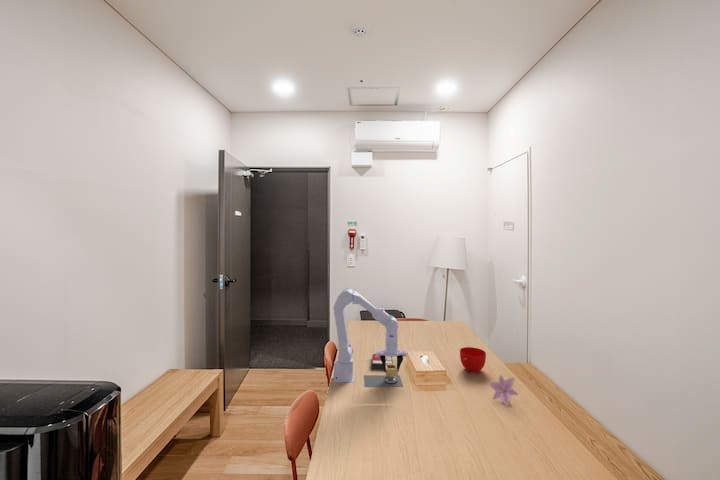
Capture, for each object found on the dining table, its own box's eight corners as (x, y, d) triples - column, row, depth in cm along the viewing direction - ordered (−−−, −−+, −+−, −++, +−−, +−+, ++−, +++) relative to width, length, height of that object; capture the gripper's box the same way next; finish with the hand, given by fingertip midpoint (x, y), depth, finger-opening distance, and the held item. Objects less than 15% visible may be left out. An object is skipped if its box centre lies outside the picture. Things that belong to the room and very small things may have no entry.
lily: (485, 393, 146) (482, 379, 142) (508, 382, 147) (505, 367, 143) (503, 415, 135) (500, 400, 131) (527, 403, 136) (524, 388, 132)
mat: (364, 388, 148) (364, 387, 148) (363, 376, 160) (363, 375, 160) (403, 387, 148) (403, 386, 148) (399, 376, 160) (399, 375, 160)
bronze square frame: (386, 375, 151) (386, 369, 151) (384, 370, 157) (384, 364, 157) (397, 375, 151) (397, 369, 151) (396, 370, 157) (396, 364, 157)
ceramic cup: (451, 372, 164) (451, 353, 164) (466, 363, 177) (466, 345, 177) (476, 381, 156) (476, 360, 155) (489, 370, 168) (490, 351, 168)
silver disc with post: (385, 384, 151) (385, 373, 151) (383, 377, 157) (383, 367, 157) (398, 383, 151) (398, 373, 151) (396, 377, 157) (396, 367, 157)
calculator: (391, 353, 181) (392, 363, 166) (391, 361, 181) (392, 371, 166) (372, 353, 182) (371, 362, 167) (372, 360, 182) (371, 370, 167)
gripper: (377, 346, 149) (376, 374, 150) (408, 346, 150) (407, 374, 150) (375, 340, 156) (375, 368, 157) (405, 340, 157) (405, 368, 157)
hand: (391, 371), depth 154 cm, fingers closed on bronze square frame, 6 cm apart
